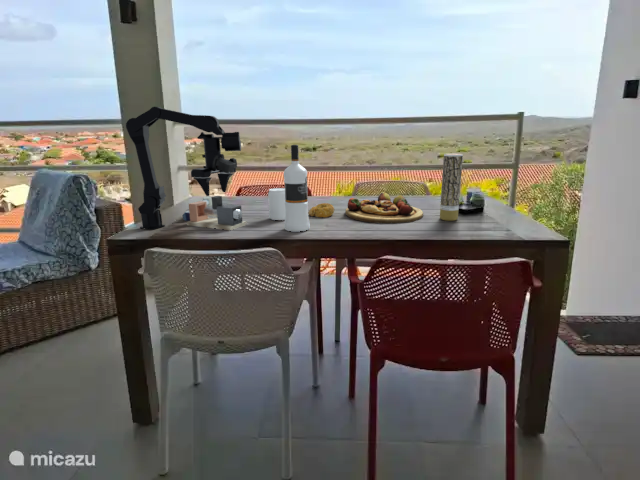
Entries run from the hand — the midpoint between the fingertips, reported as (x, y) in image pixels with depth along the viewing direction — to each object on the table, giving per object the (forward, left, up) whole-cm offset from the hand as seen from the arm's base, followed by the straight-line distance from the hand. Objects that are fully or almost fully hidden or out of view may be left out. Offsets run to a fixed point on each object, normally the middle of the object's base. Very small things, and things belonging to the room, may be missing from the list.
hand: (216, 194), depth 153 cm
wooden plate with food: (+42, -52, -13) cm, 68 cm away
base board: (0, +1, -12) cm, 12 cm away
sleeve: (0, -6, -11) cm, 12 cm away
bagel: (+31, -29, -12) cm, 44 cm away
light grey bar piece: (+12, +21, -12) cm, 27 cm away
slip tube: (0, -2, -9) cm, 9 cm away
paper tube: (+43, -78, -12) cm, 90 cm away
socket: (0, +10, -11) cm, 14 cm away
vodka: (+6, -31, -12) cm, 34 cm away
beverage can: (+18, -16, -12) cm, 27 cm away
